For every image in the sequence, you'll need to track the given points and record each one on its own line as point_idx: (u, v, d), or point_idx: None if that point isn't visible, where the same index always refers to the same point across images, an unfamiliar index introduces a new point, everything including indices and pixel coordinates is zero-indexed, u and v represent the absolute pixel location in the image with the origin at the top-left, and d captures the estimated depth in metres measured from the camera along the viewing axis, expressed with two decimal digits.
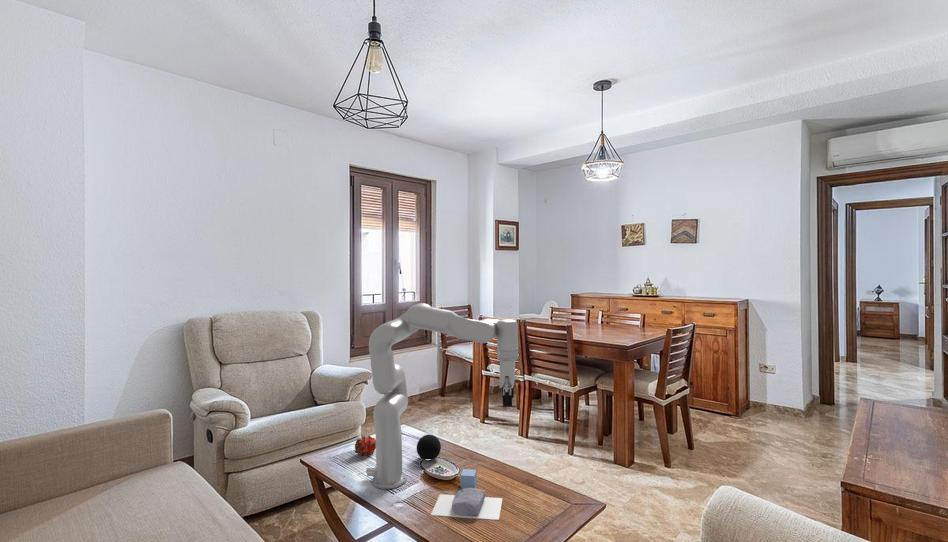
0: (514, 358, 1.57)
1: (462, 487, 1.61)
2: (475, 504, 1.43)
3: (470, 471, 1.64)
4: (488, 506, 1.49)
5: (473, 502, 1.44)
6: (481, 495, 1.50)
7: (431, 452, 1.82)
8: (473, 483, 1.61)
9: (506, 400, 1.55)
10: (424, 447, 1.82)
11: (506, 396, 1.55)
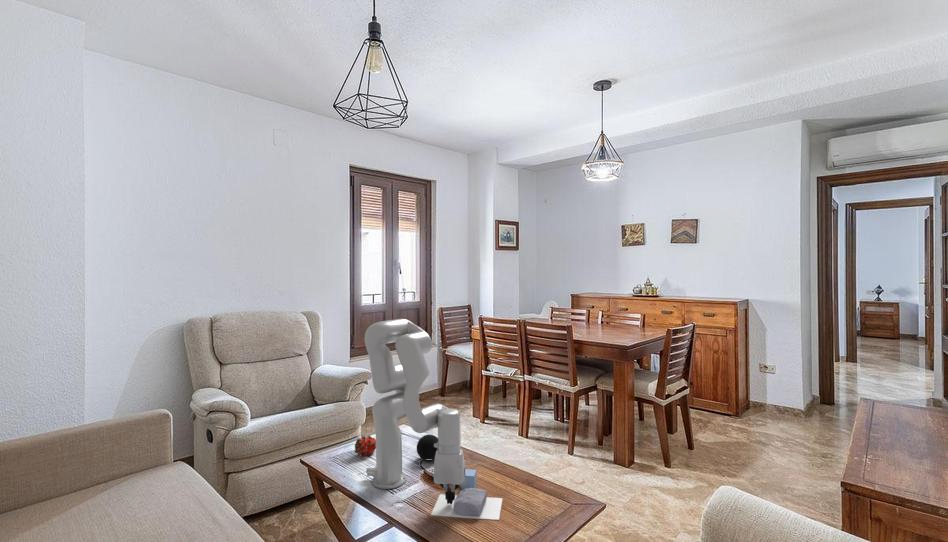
0: None
1: (462, 487, 1.61)
2: (476, 504, 1.43)
3: (470, 471, 1.64)
4: (488, 506, 1.49)
5: (475, 502, 1.44)
6: (483, 495, 1.50)
7: (432, 452, 1.82)
8: (473, 483, 1.61)
9: (454, 495, 1.50)
10: (424, 447, 1.82)
11: (454, 491, 1.50)
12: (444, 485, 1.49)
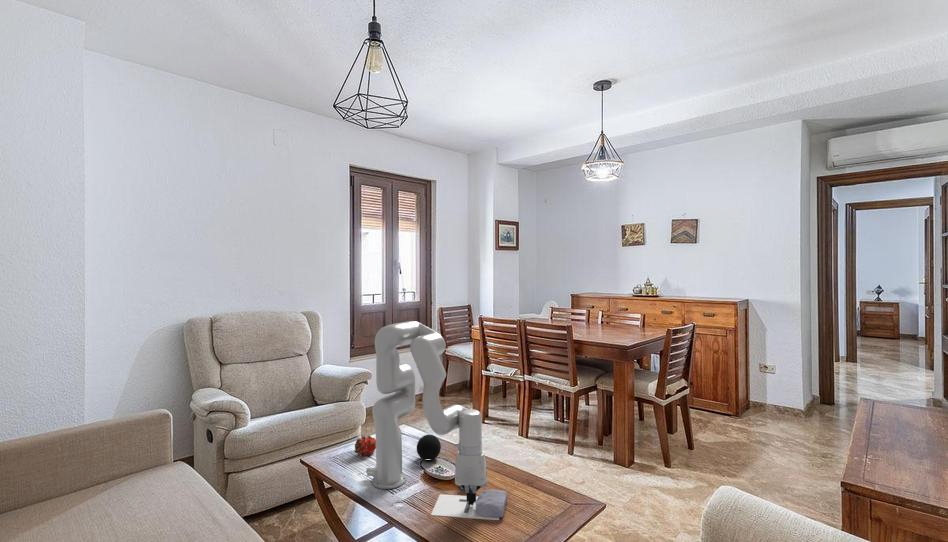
0: None
1: None
2: (499, 506, 1.42)
3: None
4: None
5: (498, 504, 1.43)
6: (504, 496, 1.49)
7: (431, 452, 1.82)
8: None
9: (475, 496, 1.49)
10: (424, 447, 1.82)
11: (475, 492, 1.49)
12: (465, 486, 1.48)
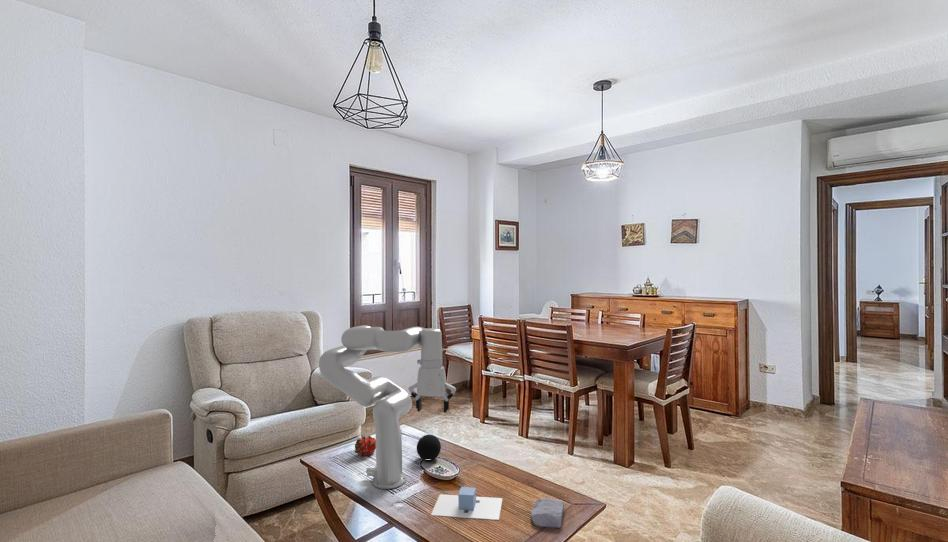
0: None
1: (460, 507, 1.47)
2: (557, 516, 1.37)
3: (469, 489, 1.50)
4: (488, 506, 1.49)
5: (555, 514, 1.38)
6: (561, 506, 1.43)
7: (432, 452, 1.82)
8: (472, 503, 1.47)
9: (448, 405, 1.60)
10: (424, 447, 1.82)
11: (448, 401, 1.60)
12: (418, 395, 1.60)
